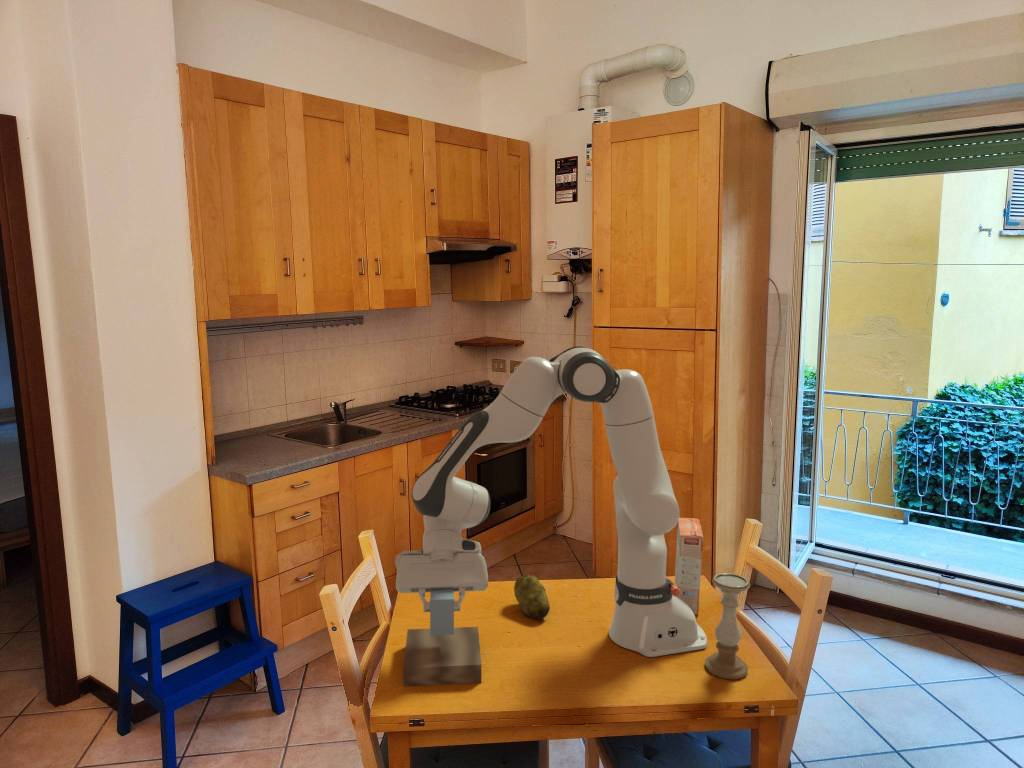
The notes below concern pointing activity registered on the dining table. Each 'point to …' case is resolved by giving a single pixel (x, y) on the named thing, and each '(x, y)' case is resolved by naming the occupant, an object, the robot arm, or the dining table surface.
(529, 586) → the potato
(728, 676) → the candle holder
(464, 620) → the dining table surface
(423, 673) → the plinth
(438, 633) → the block
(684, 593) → the cracker box
